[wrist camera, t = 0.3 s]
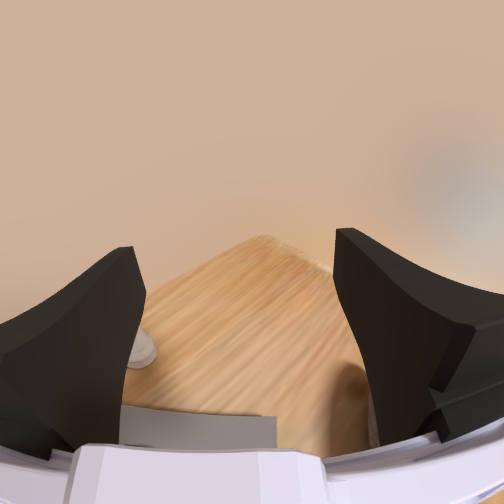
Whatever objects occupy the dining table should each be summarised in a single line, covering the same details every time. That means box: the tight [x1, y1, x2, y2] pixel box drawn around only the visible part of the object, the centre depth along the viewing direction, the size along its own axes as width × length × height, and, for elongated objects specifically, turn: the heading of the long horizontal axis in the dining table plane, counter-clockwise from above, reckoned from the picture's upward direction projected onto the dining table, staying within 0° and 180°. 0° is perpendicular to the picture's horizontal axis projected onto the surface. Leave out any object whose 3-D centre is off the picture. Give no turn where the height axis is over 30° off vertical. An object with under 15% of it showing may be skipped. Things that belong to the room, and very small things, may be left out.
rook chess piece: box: [127, 325, 157, 369], centre depth 30 cm, size 4×4×8 cm
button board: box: [119, 404, 277, 450], centre depth 20 cm, size 13×20×2 cm, turn 89°
